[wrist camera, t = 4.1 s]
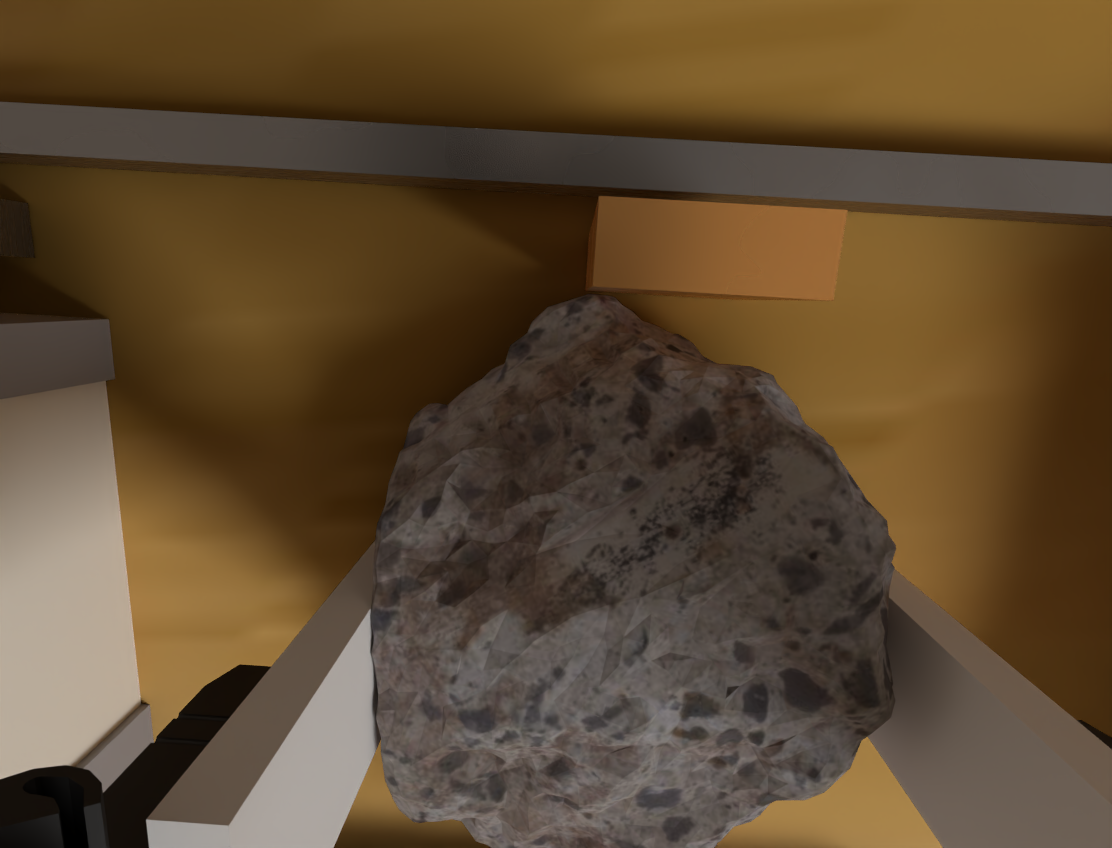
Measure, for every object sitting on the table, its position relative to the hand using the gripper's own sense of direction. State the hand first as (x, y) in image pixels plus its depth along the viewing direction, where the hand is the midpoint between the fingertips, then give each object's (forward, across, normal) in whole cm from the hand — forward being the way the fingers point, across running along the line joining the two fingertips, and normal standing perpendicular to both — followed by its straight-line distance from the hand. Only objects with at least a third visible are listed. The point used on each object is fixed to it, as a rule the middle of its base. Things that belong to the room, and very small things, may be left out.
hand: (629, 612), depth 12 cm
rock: (+1, 0, 0) cm, 1 cm away
